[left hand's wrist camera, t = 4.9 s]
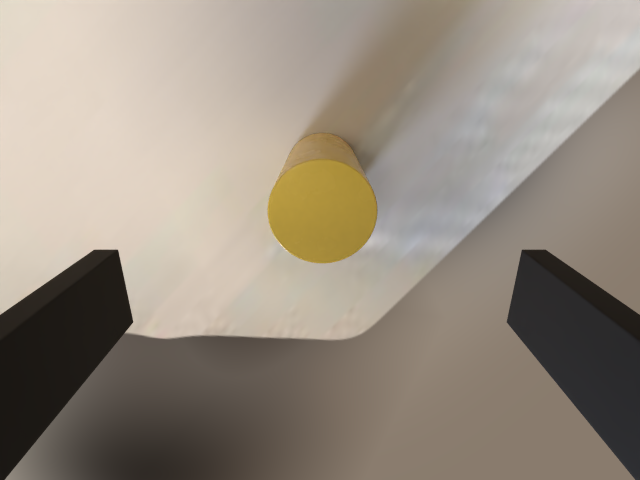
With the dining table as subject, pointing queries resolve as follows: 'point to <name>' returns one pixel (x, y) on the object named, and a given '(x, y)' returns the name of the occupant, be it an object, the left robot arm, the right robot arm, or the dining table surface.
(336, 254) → the canister
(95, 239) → the dining table surface
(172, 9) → the dining table surface
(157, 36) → the dining table surface
